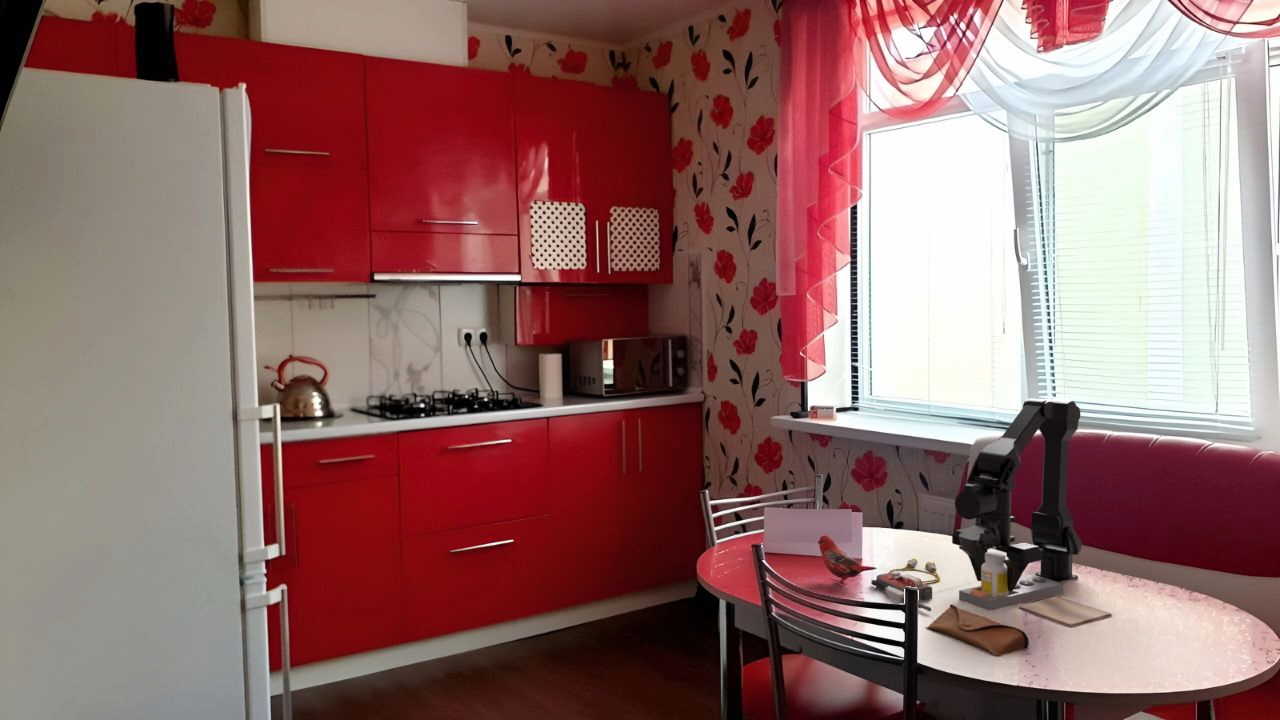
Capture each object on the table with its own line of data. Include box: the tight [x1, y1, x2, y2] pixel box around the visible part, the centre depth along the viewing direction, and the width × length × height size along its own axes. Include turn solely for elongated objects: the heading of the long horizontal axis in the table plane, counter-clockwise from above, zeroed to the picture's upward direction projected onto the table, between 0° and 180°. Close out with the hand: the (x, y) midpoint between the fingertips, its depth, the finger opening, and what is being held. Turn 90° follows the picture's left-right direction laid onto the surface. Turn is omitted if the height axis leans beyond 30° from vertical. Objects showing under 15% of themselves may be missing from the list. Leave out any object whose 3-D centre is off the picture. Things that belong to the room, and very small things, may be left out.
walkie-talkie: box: [870, 571, 933, 612], centre depth 200 cm, size 9×4×20 cm
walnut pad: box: [1018, 596, 1112, 628], centre depth 190 cm, size 12×12×1 cm
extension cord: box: [888, 558, 941, 585], centre depth 216 cm, size 12×16×2 cm
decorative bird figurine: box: [817, 534, 878, 586], centre depth 208 cm, size 3×18×10 cm, turn 33°
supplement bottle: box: [980, 551, 1009, 598], centre depth 198 cm, size 5×5×10 cm
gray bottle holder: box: [958, 573, 1064, 612], centre depth 200 cm, size 22×8×3 cm, turn 118°
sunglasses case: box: [924, 604, 1030, 657], centre depth 178 cm, size 18×7×7 cm, turn 31°
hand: (994, 585), depth 198 cm, fingers open, 8 cm apart
